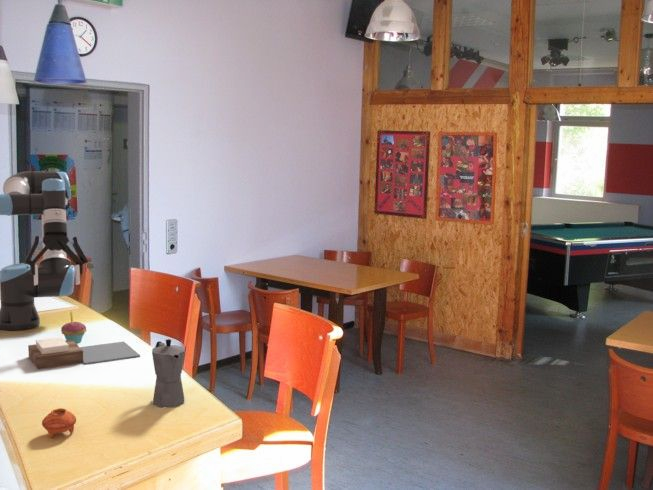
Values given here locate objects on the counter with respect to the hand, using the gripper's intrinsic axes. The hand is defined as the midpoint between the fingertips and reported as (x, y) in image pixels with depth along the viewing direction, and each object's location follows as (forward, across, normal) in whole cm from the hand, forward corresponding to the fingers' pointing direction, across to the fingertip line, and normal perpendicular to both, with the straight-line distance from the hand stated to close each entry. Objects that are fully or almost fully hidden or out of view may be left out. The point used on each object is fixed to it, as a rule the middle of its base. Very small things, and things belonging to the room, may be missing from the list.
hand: (57, 284), depth 244 cm
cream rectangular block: (+22, -4, -5) cm, 22 cm away
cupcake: (+18, +8, +13) cm, 24 cm away
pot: (+48, -15, -59) cm, 77 cm away
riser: (+25, -2, -3) cm, 26 cm away
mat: (+24, +14, -4) cm, 28 cm away
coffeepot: (+43, +16, -51) cm, 69 cm away
